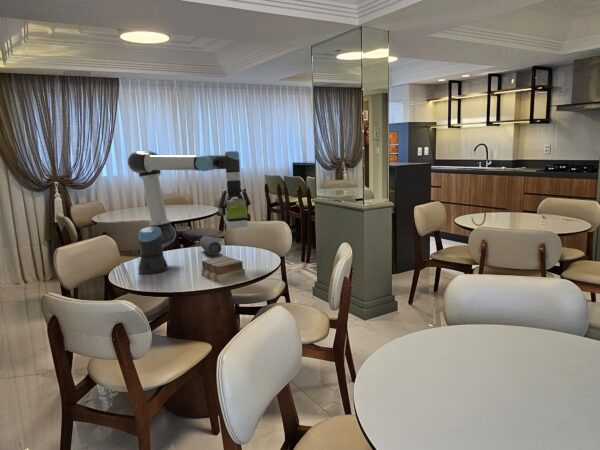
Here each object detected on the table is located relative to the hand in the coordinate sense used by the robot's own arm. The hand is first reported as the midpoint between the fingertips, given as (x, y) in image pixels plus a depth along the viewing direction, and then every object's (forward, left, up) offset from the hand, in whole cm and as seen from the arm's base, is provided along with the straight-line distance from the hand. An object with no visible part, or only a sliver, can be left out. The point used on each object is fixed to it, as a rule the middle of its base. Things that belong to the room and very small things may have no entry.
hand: (235, 219), depth 238 cm
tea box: (0, 0, -4) cm, 4 cm away
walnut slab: (+12, -17, -22) cm, 30 cm away
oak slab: (+12, -17, -26) cm, 34 cm away
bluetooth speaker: (-37, +3, -26) cm, 45 cm away
